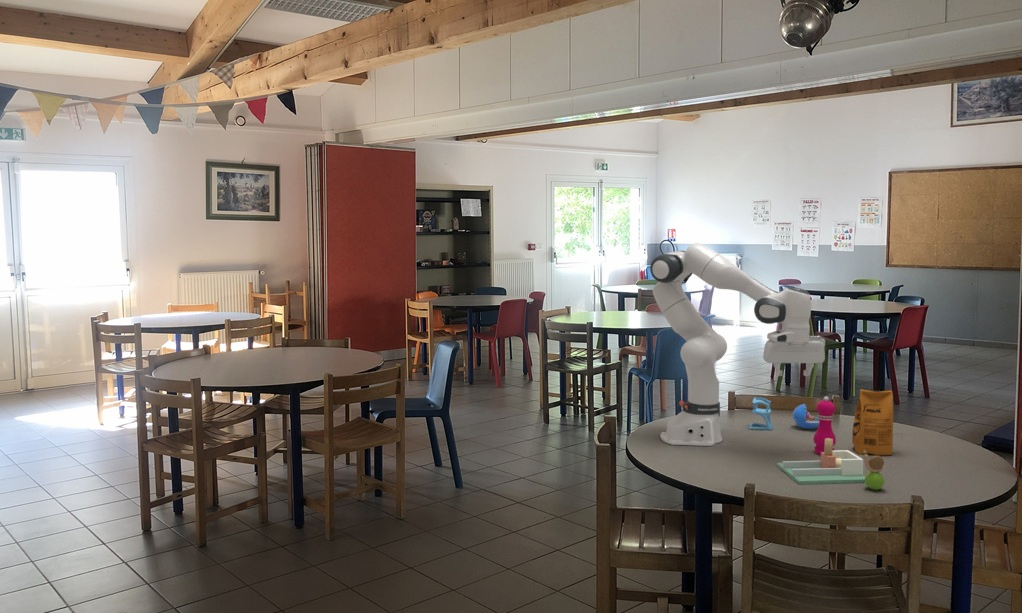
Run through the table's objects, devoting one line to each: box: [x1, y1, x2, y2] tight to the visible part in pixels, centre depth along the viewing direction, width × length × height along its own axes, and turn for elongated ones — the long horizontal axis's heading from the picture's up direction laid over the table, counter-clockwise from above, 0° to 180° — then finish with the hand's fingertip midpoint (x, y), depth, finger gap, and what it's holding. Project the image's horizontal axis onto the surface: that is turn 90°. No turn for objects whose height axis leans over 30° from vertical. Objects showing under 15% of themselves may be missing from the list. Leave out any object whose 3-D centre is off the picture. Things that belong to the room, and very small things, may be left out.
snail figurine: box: [863, 451, 885, 491], centre depth 234 cm, size 5×6×12 cm
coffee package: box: [851, 388, 894, 456], centre depth 271 cm, size 10×12×22 cm
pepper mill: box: [813, 396, 837, 456], centre depth 271 cm, size 7×7×20 cm
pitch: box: [776, 449, 866, 485], centre depth 249 cm, size 22×18×6 cm
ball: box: [835, 458, 842, 468], centre depth 249 cm, size 4×4×4 cm
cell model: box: [792, 403, 819, 430], centre depth 302 cm, size 10×12×10 cm
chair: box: [748, 396, 773, 431], centre depth 303 cm, size 8×8×12 cm
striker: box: [820, 438, 836, 468], centre depth 249 cm, size 2×5×10 cm, turn 3°
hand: (792, 375), depth 265 cm, fingers open, 8 cm apart
